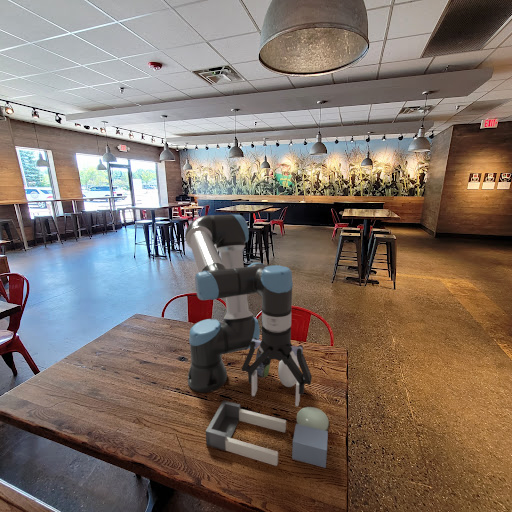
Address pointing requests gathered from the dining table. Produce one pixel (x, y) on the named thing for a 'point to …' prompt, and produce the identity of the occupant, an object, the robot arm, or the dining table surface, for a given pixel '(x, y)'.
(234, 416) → the bin
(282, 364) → the sauce bottle
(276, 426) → the channel
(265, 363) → the beverage can
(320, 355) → the dining table surface
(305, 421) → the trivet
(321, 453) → the painted block
